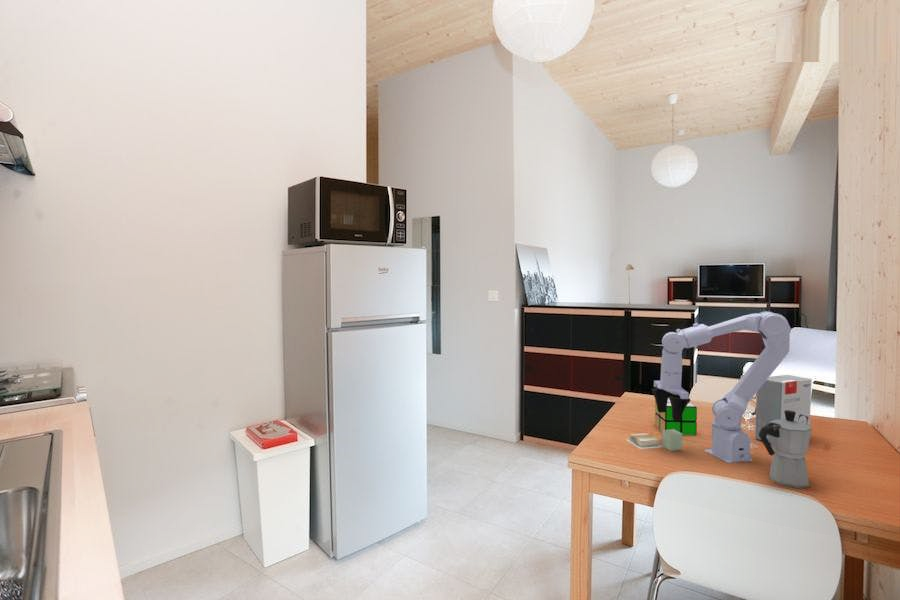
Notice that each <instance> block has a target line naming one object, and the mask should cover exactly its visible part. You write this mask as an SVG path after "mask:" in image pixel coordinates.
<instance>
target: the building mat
mask: <svg viewBox="0 0 900 600" xmlns="http://www.w3.org/2000/svg"><path fill="white" fill-rule="evenodd" d="M625 441H626V442H628V443H629V444H631V445H633V446H634V447H636V448H637V449H639V450H645V449H646V450H647V449H656V448H657V449H659V448H664V447H663V446H662V444H659V446H653V447H639V446H638V445H636V444H635V443H633V442H631V441H630V438H629V439H625Z"/></svg>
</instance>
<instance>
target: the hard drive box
mask: <svg viewBox="0 0 900 600" xmlns="http://www.w3.org/2000/svg"><path fill="white" fill-rule="evenodd" d="M812 381H813V379H812V378H806V377H802V376H796V375H791V374H781V375H774V376H772V375H771V376H769V378H768V379H767V380H766V381H765V383H764V384H763V385H762V386H761V387H760V389H759V390H758V391H757V392H756V403H755V406H756V407H755V422H754V423H755V424H754V425H755V426H754V439H757V440H759V441H762V440H761V438H760V437H759V433H760V430H761V428H762V427H764V426H766V424H767V423H769V422H770V421H773V420H782V419H786V418H785V412H784V411H785V410H790V411H794V412H796V414H795V418H794V421H797V422H800V423H803V424H806V425H810V426H811V406H812V405H811V402H812ZM766 438H767V440H768V441H769V443H770V445H772V443H771V435H768V434H767V436H766Z"/></svg>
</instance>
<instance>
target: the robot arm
mask: <svg viewBox="0 0 900 600" xmlns="http://www.w3.org/2000/svg"><path fill="white" fill-rule="evenodd" d="M745 330H746V331H751V332H756V333H759V334H760V335H761V338H762V341H763V344H764V346H765V347H764V349H762V351H761V352H760V354H759V355H758V357H757V358H756V359H755V360H754V361H753V362H752V363H751V365H750V366H749V367H748V369H747V370H746V371H745V373H744V374H743V375H742V377H741V378H739V381H738V382H737V383H736V384H735V385H734V386H733V388H732V389H731V390H730V391H729V392H727V393H725V394H724V395H723V397H722V398H720V399H717V400H716V401H715V402H714V403H713V404H712V406H711V410H712V413H713V415H714V416H715V418H714V419H713V420H712V421H711V448H710V449H709V448H708V449H704V452H706V453H709V454H710V455H712V456H714V457H717V458H718V459H719V460H722V461H724V462H725V463H730V464H731V463H740V462H741V463H742V462H753V461H754V460H753V459H752V458H751V438H750V436H749V435H748V433H747V432H746V433H745V432H744V430H743V429H742V426H741V423H742V419H743V415H744V414H745V412H746V411H747V408H748V404H749V403H750V401H751V400H752V399H753V397H754V396H756V395H757V391H758V390H759V389H760V387H761V386H762V385H763V384H764V383H765V381H766V380H767V379H768V378H769V377H771V376H772V375H773V373H774V371H775V370H776V369H777V368H778V367H779V365H781V364H782V362H783V360H784V359H785V358H786V357H787V355H788V354H789V352H790V341H791V338H790V337H791V336H790V335H791V332H792V328H791V326H790V324H789V321H788V320H787V318H786V317H785V316H783V315H782V314H780V313H774V312H772V311H761V312H758V313H756V312H755V313H749V314H746V315H742V316H738V317H735V318H732V319H728V320H725V321H722V322H719V323H716V324H713V325H710V326H708V325H706V324H704V323H700V324H699V323H698V322H696V323H693V324H692V326H690V327H687V328H683V329H680V328H677V329H676V330H675V332H674V331H669V332H667V333H665V334H664V335H663V336H662V339H661V345H662V352H661V354H662V355H661V358H660V359H661V362H660V363H661V364H660V379H659V380H653V387H654V388H651V389H650V390H651V393H652V394H653V397H654V401H655V400H656V404H657V409H658V412H666V408H667V401H668V399H670V402H671V406H672V418H673V420H681V417H682V414H683V412H684V409H685V407H686V406H687V404H688V403H691V398H689V396H690V395H689V392H688V391H687V390H685V389H684V388H683V387H682V377H683V375H682V373H683V357H682V354H683V350H684V348H685V349H690V348H694V347H697V346H702V345H705V344H708V343H711V341H712V339H713V338H714V337H718V336H719V337H720V336H722V335H726V334H730V333H734V332H738V331H739V332H740V331H745ZM671 394H672V396H671Z"/></svg>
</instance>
